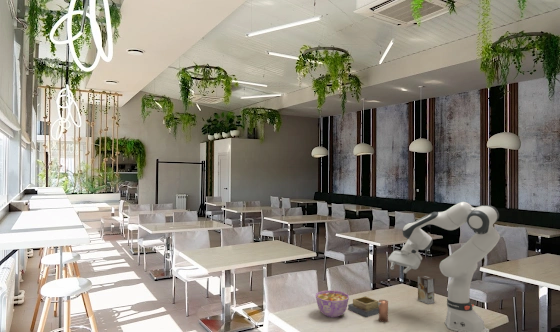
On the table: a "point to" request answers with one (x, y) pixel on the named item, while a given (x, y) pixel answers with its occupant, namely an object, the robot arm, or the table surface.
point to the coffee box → (426, 289)
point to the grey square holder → (364, 306)
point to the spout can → (383, 310)
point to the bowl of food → (332, 302)
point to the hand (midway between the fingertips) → (397, 270)
